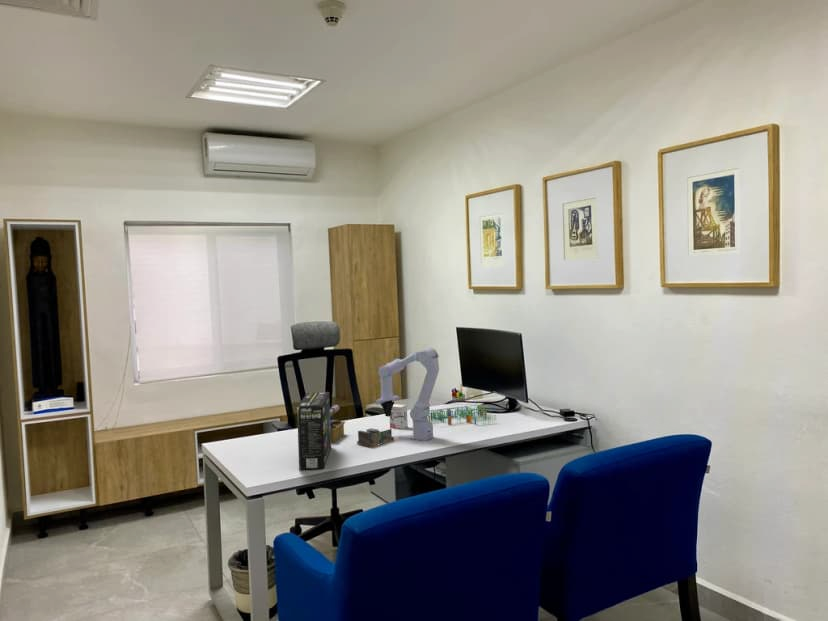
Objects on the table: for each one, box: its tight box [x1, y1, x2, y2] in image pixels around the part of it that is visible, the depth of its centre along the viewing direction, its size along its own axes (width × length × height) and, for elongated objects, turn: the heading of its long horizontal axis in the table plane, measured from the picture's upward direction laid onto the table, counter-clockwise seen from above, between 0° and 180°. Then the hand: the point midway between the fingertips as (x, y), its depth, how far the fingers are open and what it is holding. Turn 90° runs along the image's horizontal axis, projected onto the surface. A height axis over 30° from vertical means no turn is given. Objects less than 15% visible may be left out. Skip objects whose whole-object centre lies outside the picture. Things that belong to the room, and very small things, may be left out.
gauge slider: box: [366, 428, 381, 434], centre depth 292 cm, size 3×7×4 cm, turn 48°
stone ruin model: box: [356, 428, 395, 448], centre depth 294 cm, size 16×9×6 cm, turn 138°
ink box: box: [389, 403, 409, 430], centre depth 322 cm, size 9×5×12 cm, turn 62°
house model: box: [427, 404, 497, 426], centre depth 334 cm, size 35×30×5 cm
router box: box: [296, 391, 332, 471], centre depth 271 cm, size 36×11×27 cm, turn 3°
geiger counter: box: [330, 404, 346, 443], centre depth 302 cm, size 9×26×15 cm, turn 169°
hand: (387, 416), depth 308 cm, fingers closed
